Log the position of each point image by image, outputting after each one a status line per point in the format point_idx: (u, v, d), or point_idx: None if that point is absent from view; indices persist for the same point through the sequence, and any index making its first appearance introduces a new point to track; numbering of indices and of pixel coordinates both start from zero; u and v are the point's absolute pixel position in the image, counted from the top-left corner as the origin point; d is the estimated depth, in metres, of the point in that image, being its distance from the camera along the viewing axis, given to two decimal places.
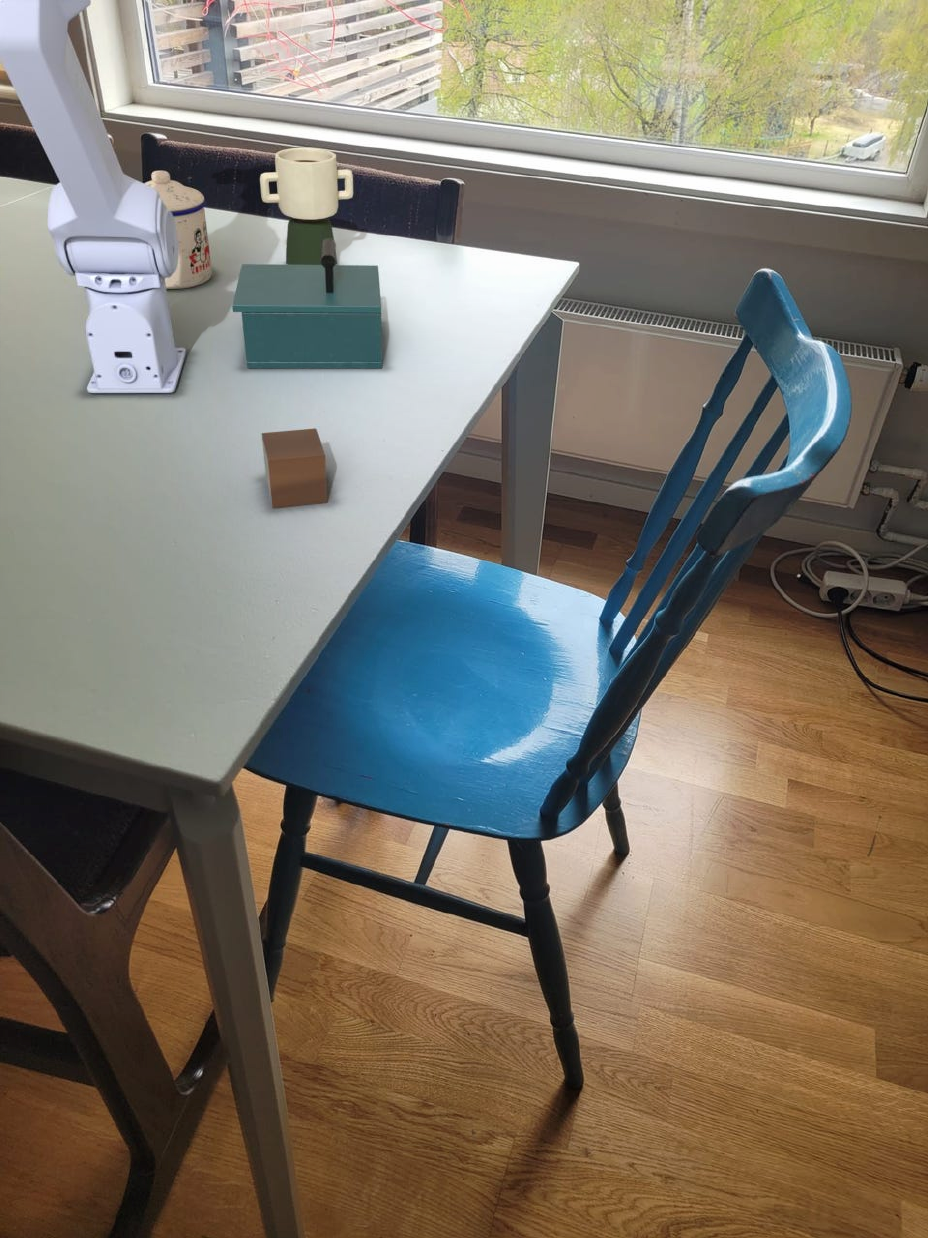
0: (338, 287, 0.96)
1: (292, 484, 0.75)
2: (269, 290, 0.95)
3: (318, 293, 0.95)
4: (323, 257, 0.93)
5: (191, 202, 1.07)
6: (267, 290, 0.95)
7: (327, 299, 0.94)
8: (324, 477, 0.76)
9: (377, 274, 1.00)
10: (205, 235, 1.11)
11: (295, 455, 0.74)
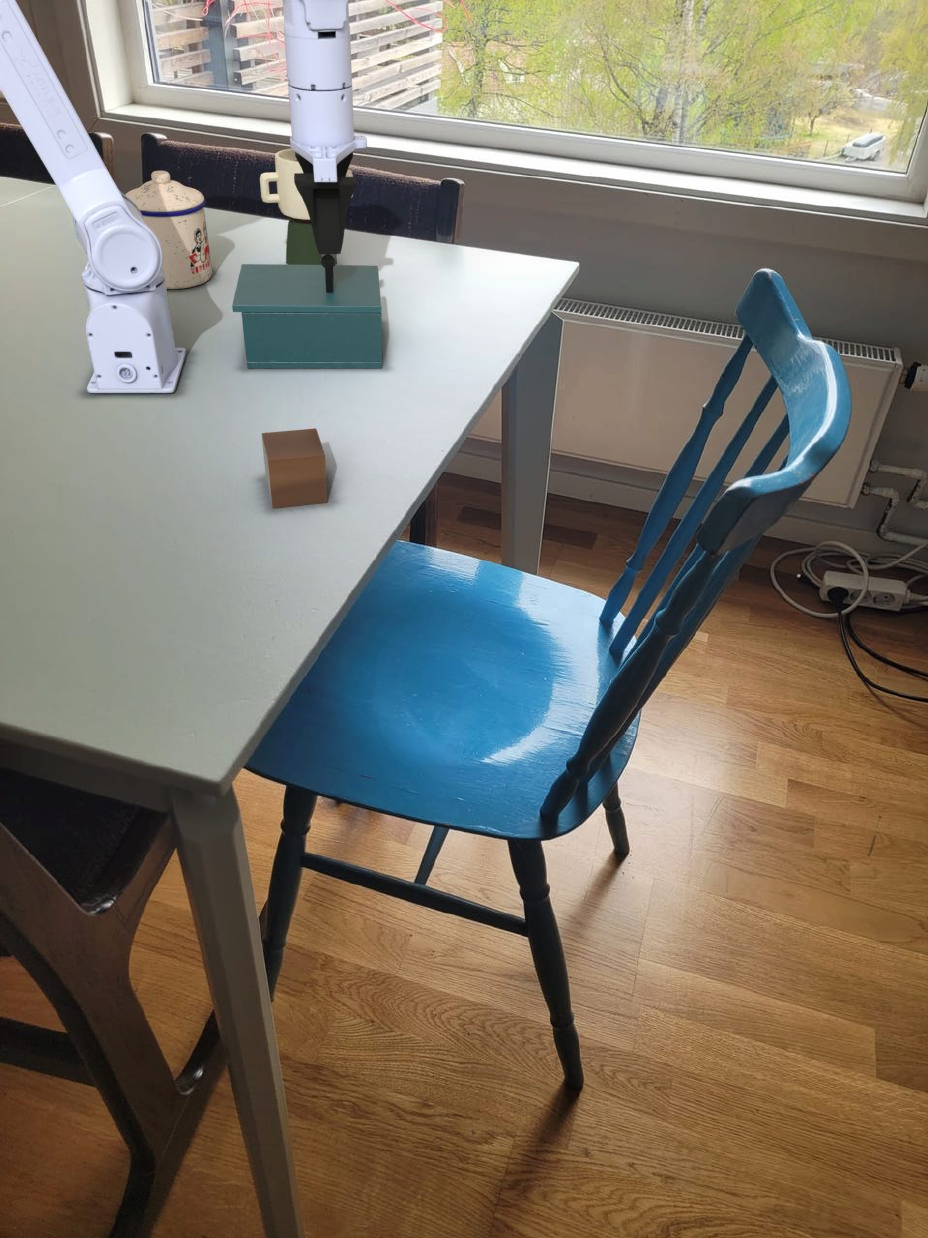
0: (338, 287, 0.96)
1: (292, 484, 0.75)
2: (269, 290, 0.95)
3: (318, 293, 0.95)
4: (323, 257, 0.93)
5: (191, 202, 1.07)
6: (267, 290, 0.95)
7: (327, 299, 0.94)
8: (324, 477, 0.76)
9: (377, 274, 1.00)
10: (205, 235, 1.11)
11: (295, 455, 0.74)
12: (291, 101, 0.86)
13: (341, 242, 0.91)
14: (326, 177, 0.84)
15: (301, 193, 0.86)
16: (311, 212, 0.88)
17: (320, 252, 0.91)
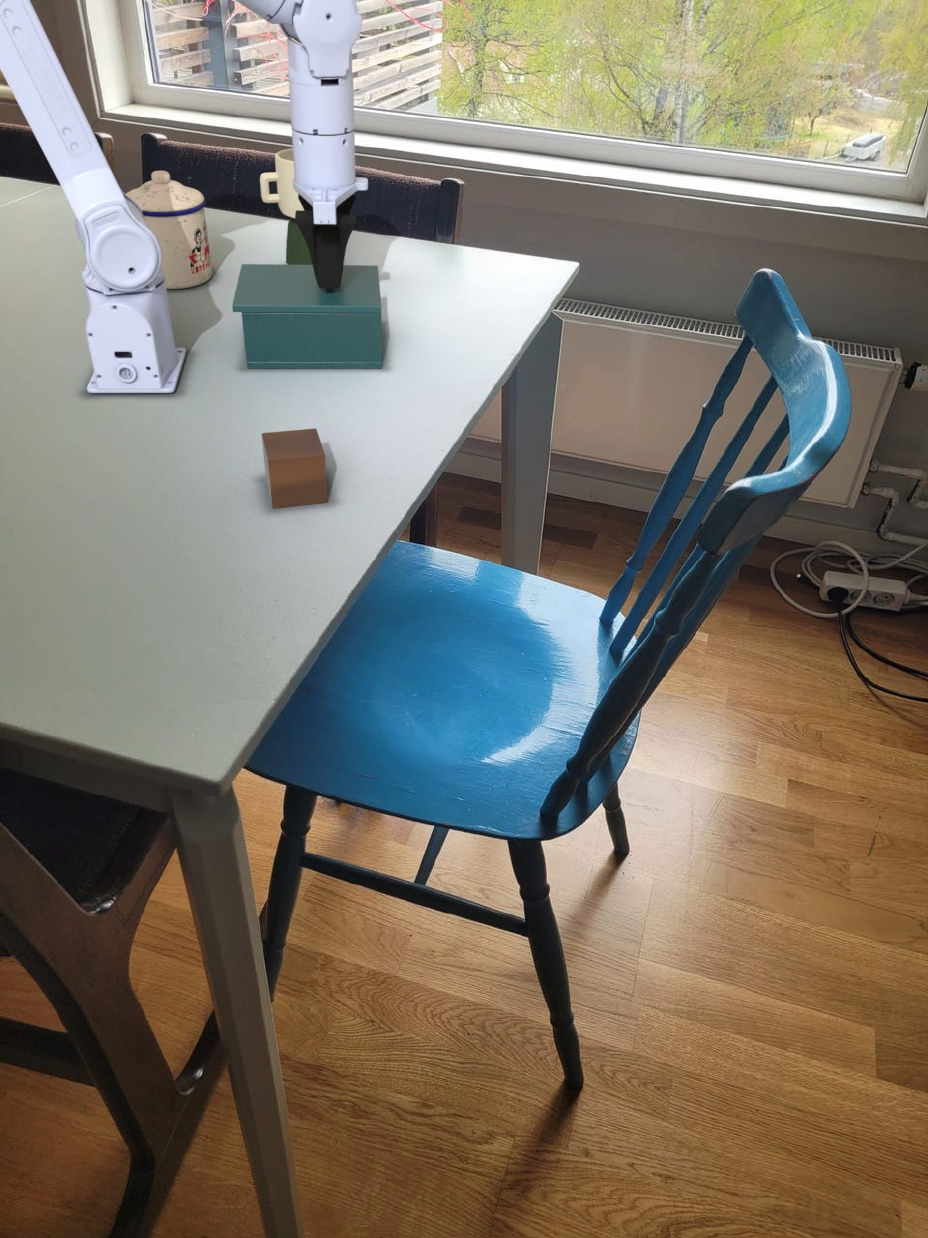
0: None
1: (292, 484, 0.75)
2: (269, 290, 0.95)
3: (318, 293, 0.95)
4: None
5: (191, 202, 1.07)
6: (267, 290, 0.95)
7: (327, 299, 0.94)
8: (324, 477, 0.76)
9: (377, 274, 1.00)
10: (205, 235, 1.11)
11: (295, 455, 0.74)
12: (294, 144, 0.87)
13: (340, 277, 0.93)
14: (325, 219, 0.86)
15: (301, 230, 0.89)
16: (311, 248, 0.91)
17: (319, 286, 0.94)
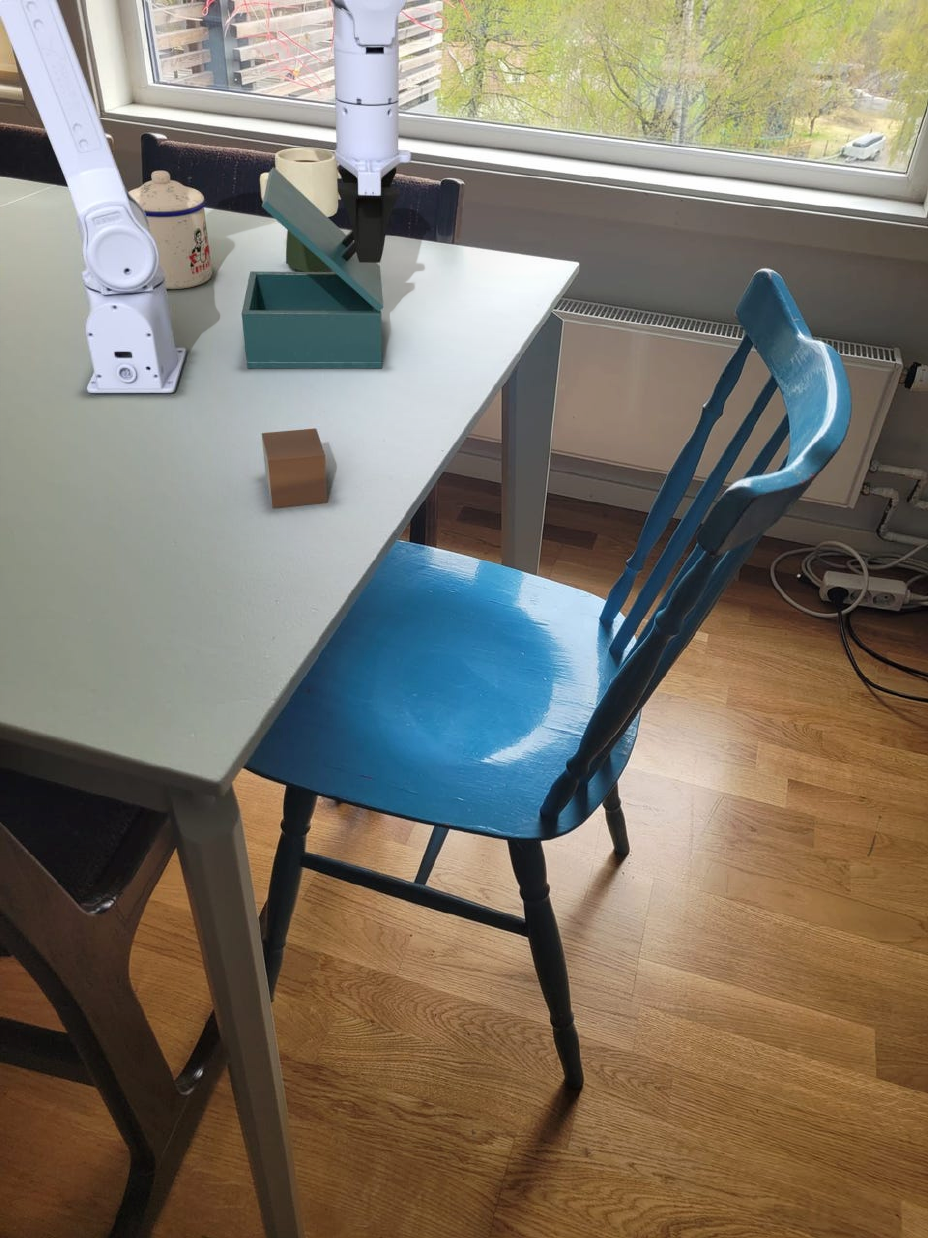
0: (351, 260, 0.95)
1: (292, 484, 0.75)
2: (296, 213, 0.91)
3: (335, 252, 0.92)
4: None
5: (191, 202, 1.07)
6: (295, 212, 0.90)
7: (342, 264, 0.92)
8: (324, 477, 0.76)
9: (379, 274, 1.00)
10: (205, 235, 1.11)
11: (295, 455, 0.74)
12: (338, 114, 0.86)
13: (381, 251, 0.92)
14: (370, 191, 0.85)
15: (344, 202, 0.88)
16: (353, 221, 0.89)
17: (360, 260, 0.93)
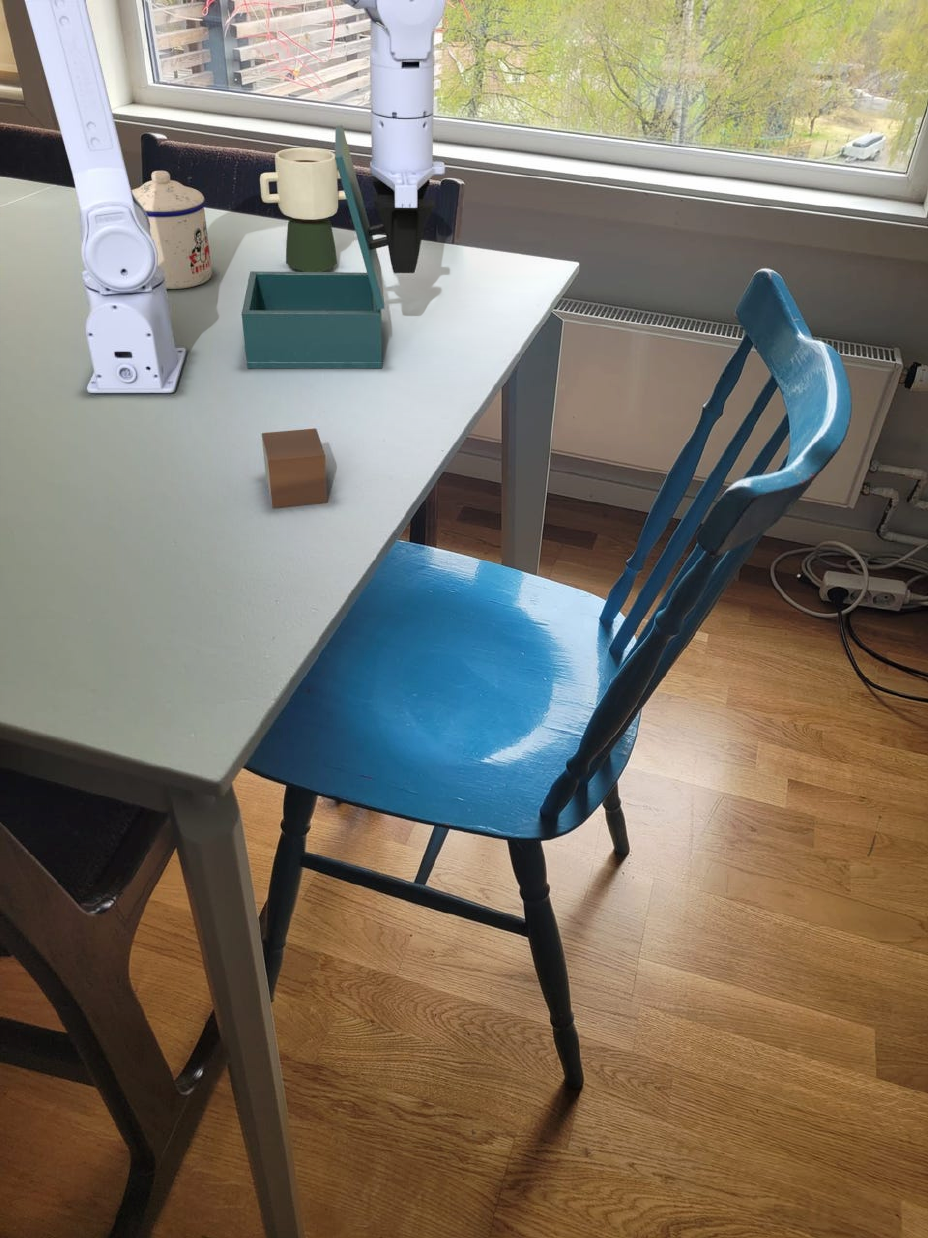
0: None
1: (292, 484, 0.75)
2: (352, 181, 0.89)
3: (366, 235, 0.92)
4: None
5: (191, 202, 1.07)
6: (352, 179, 0.89)
7: (369, 250, 0.91)
8: (324, 477, 0.76)
9: (381, 275, 1.00)
10: (205, 235, 1.11)
11: (295, 455, 0.74)
12: (373, 128, 0.87)
13: (415, 262, 0.93)
14: (407, 203, 0.86)
15: (380, 214, 0.89)
16: (388, 232, 0.90)
17: (395, 271, 0.94)
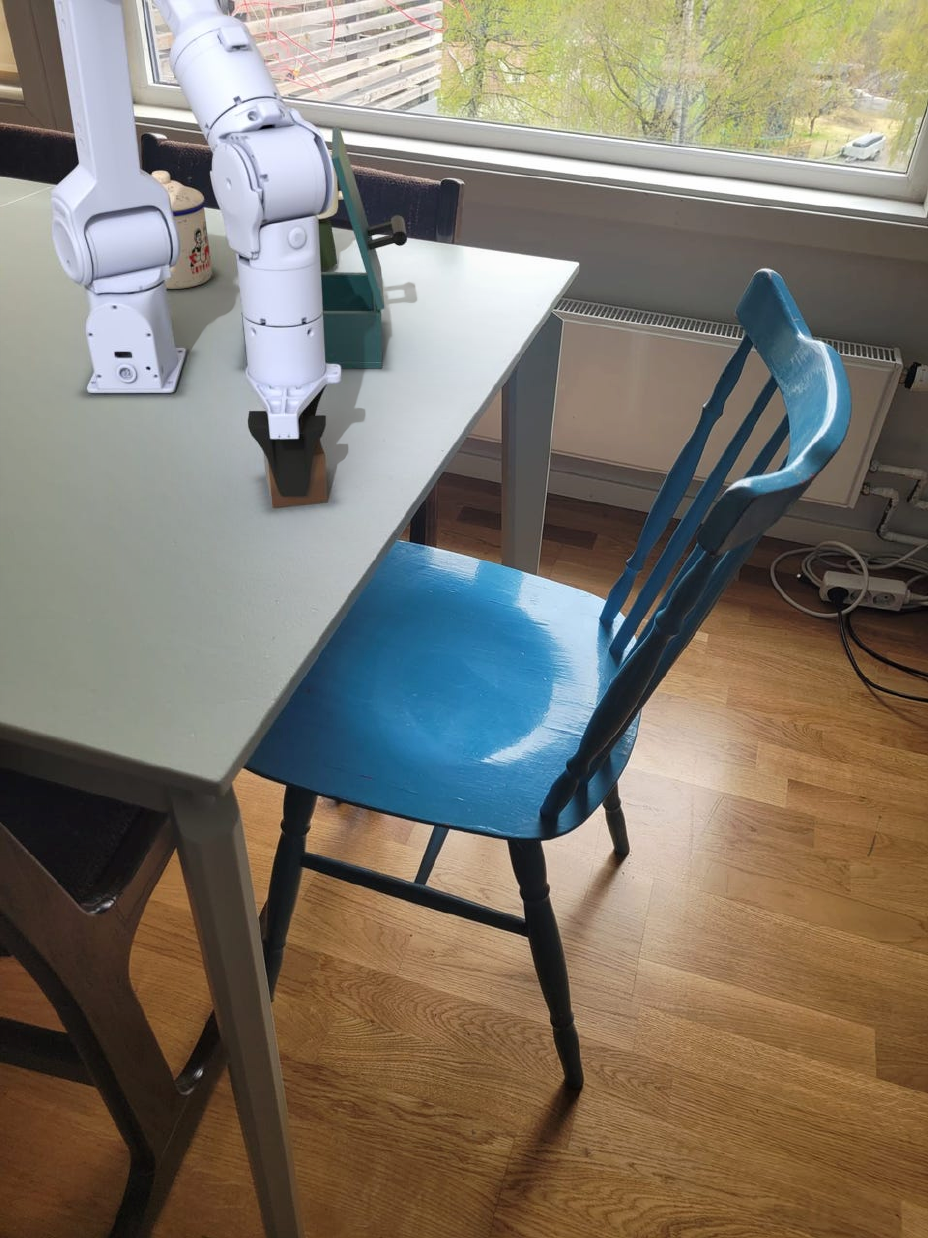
0: (371, 250, 0.94)
1: None
2: (350, 182, 0.89)
3: (365, 235, 0.92)
4: (402, 232, 0.92)
5: (191, 202, 1.07)
6: (349, 180, 0.89)
7: (368, 250, 0.91)
8: (324, 477, 0.76)
9: (381, 275, 1.00)
10: (205, 235, 1.11)
11: None
12: (245, 333, 0.68)
13: (307, 484, 0.74)
14: (285, 434, 0.67)
15: (256, 438, 0.70)
16: (269, 456, 0.72)
17: (282, 494, 0.75)
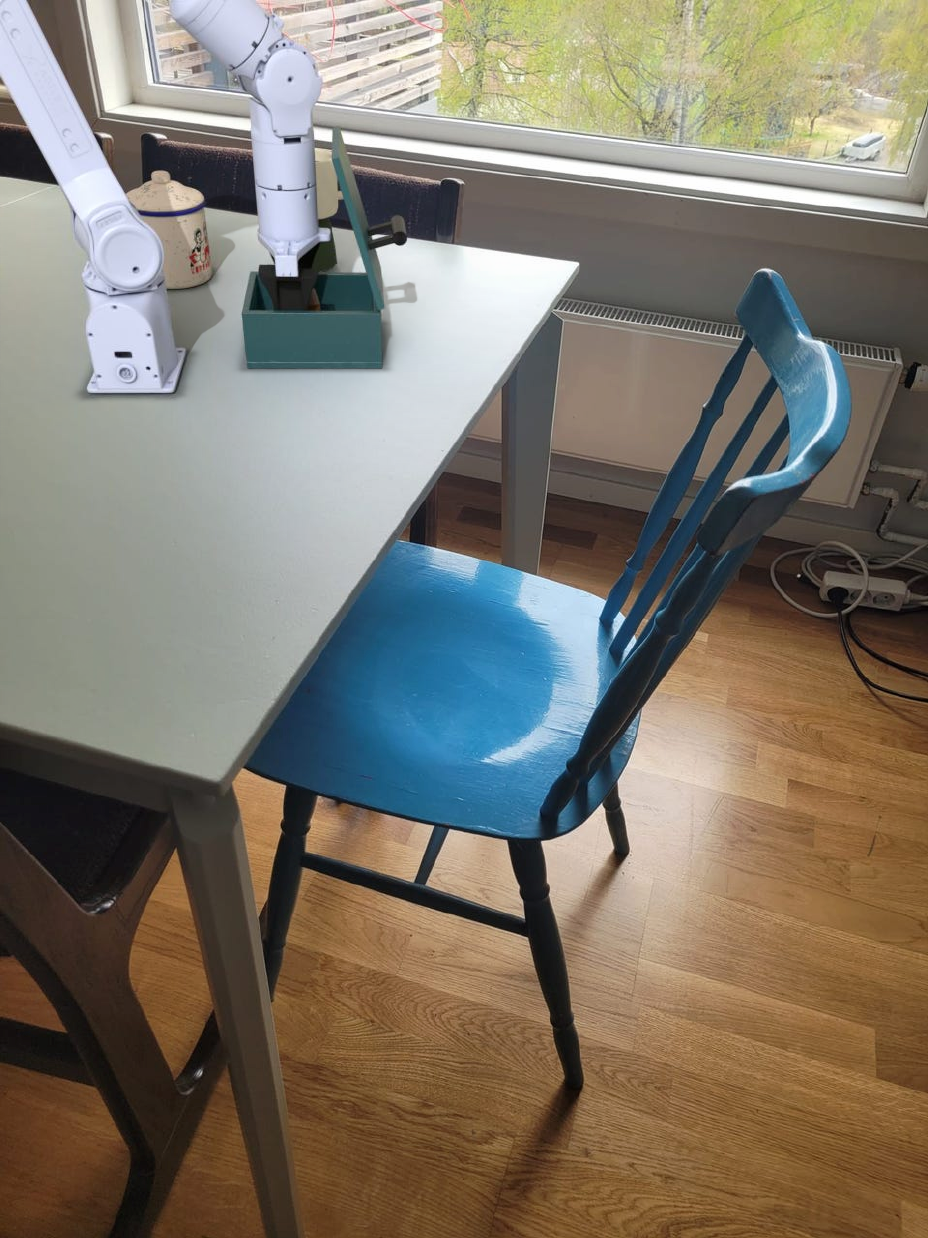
0: (371, 250, 0.94)
1: None
2: (350, 182, 0.89)
3: (365, 235, 0.92)
4: (402, 232, 0.92)
5: (191, 202, 1.07)
6: (349, 180, 0.89)
7: (368, 250, 0.91)
8: None
9: (381, 275, 1.00)
10: (205, 235, 1.11)
11: None
12: (257, 198, 0.90)
13: None
14: (287, 272, 0.89)
15: (264, 284, 0.91)
16: (275, 301, 0.92)
17: None
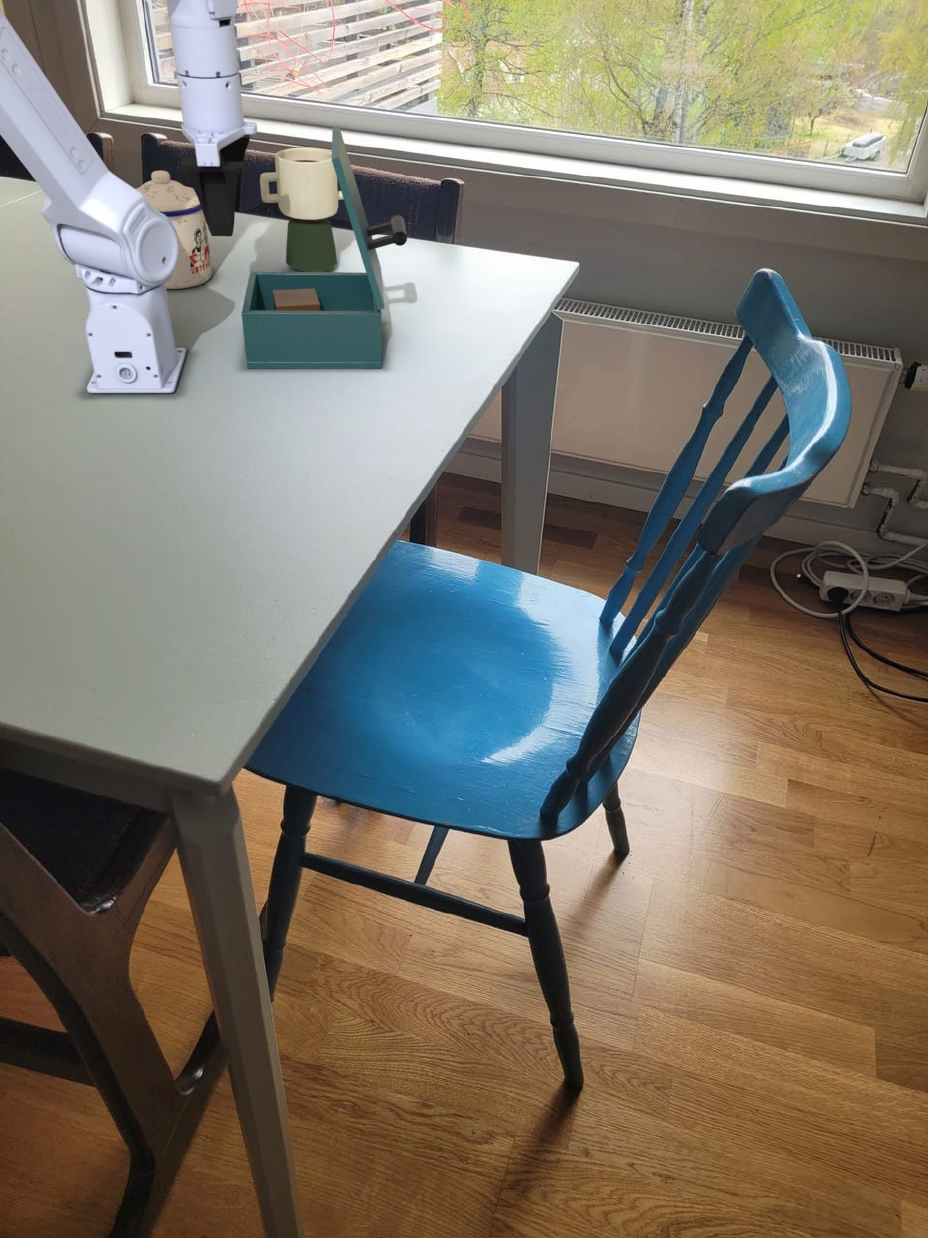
0: (371, 250, 0.94)
1: None
2: (350, 182, 0.89)
3: (365, 235, 0.92)
4: (402, 232, 0.92)
5: (191, 202, 1.07)
6: (349, 180, 0.89)
7: (368, 250, 0.91)
8: None
9: (381, 275, 1.00)
10: (205, 235, 1.11)
11: (296, 304, 0.96)
12: (179, 88, 0.89)
13: (232, 225, 0.94)
14: (208, 161, 0.88)
15: (187, 177, 0.90)
16: (199, 195, 0.92)
17: (212, 234, 0.95)
